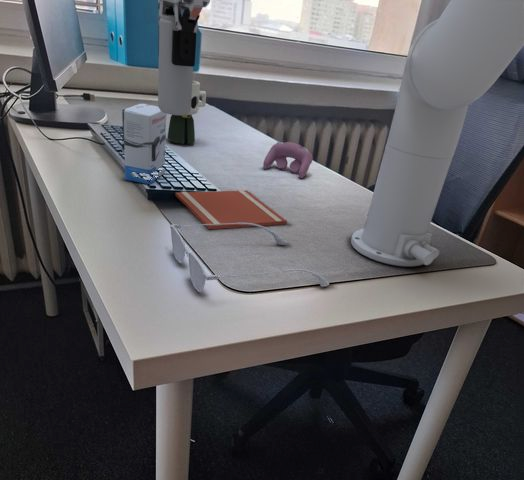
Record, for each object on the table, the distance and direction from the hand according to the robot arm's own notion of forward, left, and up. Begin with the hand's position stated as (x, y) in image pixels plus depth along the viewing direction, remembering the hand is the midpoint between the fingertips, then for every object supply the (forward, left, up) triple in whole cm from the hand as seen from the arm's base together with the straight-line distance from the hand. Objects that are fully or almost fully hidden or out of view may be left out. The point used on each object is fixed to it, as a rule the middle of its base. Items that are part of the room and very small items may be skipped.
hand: (176, 60), depth 72 cm
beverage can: (0, 0, -7) cm, 7 cm away
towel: (-2, -10, -21) cm, 24 cm away
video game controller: (+18, -33, -21) cm, 43 cm away
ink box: (+16, -1, -21) cm, 27 cm away
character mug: (+40, -17, -21) cm, 48 cm away
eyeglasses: (-23, -3, -21) cm, 32 cm away
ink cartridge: (+32, -3, -21) cm, 38 cm away
